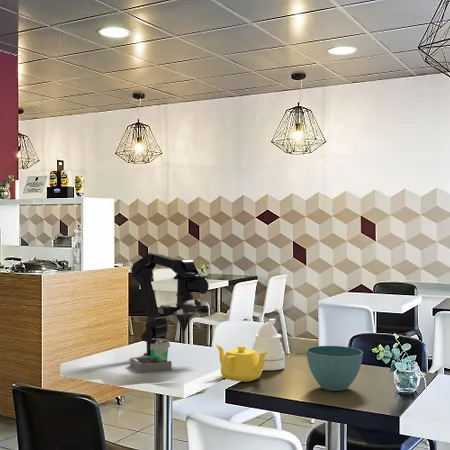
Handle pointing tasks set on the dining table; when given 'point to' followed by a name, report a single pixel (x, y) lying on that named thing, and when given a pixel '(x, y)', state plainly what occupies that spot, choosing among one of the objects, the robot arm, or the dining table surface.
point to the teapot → (241, 364)
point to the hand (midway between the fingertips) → (183, 331)
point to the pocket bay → (149, 364)
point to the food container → (159, 350)
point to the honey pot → (270, 346)
